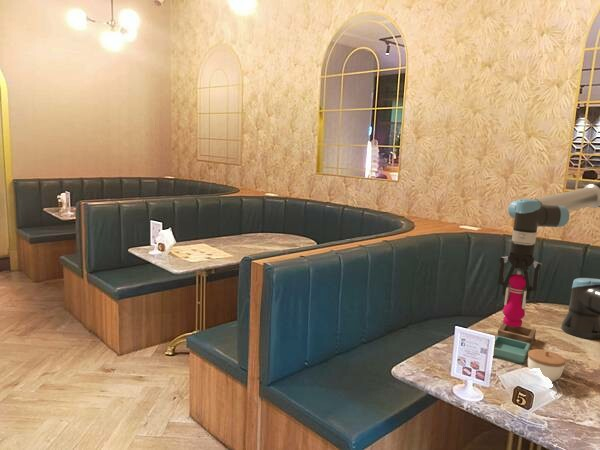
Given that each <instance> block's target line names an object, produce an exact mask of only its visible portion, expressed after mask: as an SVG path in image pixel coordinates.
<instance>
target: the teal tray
mask: <svg viewBox="0 0 600 450" xmlns="http://www.w3.org/2000/svg"><path fill="white" fill-rule="evenodd" d="M497 335H498V334H497ZM497 335H495V336H494V338H495V347H494V356H495V357H494V356H493V357H494V358H499V359H501V360H506V361H509V362H513V363H517V364H520V365H524V364H525V362H526V360H527V358H528V352H529V351H530V350H531V349H530V343H526V342H522V341H518V340H514V339H510V338H506V337H501V336H497Z"/></svg>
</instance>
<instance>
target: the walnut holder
mask: <svg viewBox="0 0 600 450" xmlns="http://www.w3.org/2000/svg"><path fill="white" fill-rule="evenodd" d="M536 333H537V329H536V328H532V327H527V326H524V325H522V326H520V327H513V326H508V325H506V324H504V323H503V322H502V324H501V325H500V327H499V329H498V330H497V336H501V337H506V338H510V339H514V340H518V341H522V342H526V343H530V350H532V347H533V344H534V342H535V339H536V335H537V334H536Z"/></svg>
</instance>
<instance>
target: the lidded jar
mask: <svg viewBox="0 0 600 450" xmlns="http://www.w3.org/2000/svg"><path fill="white" fill-rule="evenodd" d="M565 363H566V359H565V358H564V357H563V356H561V354H558V353H556V352H553V351H550V350H546V349H545V350H544V349H540V348H539V349H537V348H536V349H530V350H529V352H528V355H527V368H528V369H529V368H530V369H532V368H540V370H541V372H542V374H543V375H544V376H546V377H548V378H549V379H550V380H551V381H552V383H554V382H555V381H557V380H559V379H560V377H561V376H562V374H563V371H564V369H565V368H564V367H565V365H566V364H565Z"/></svg>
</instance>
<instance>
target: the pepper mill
mask: <svg viewBox="0 0 600 450" xmlns="http://www.w3.org/2000/svg"><path fill="white" fill-rule="evenodd" d="M522 274H523V271H521V269H519V270H517V271H516V273H515V274H514V273H513V275H512V276H511V278H510V279H509V284H508V285H509V286H510V287H509V288H510V289H509V298H508V301H507V304H506V305H504V306H503V308H502V313H503V315H504V317H503V319H502V324H503V323H504V324H506V325H508V326H513V327H520V326H523V320H522V319H523V318H524V317H525V315H526V313H525V308H524V309H522V303H523V296H524V291H525V289H526V281H525V276H524V274H523V275H522Z"/></svg>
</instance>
